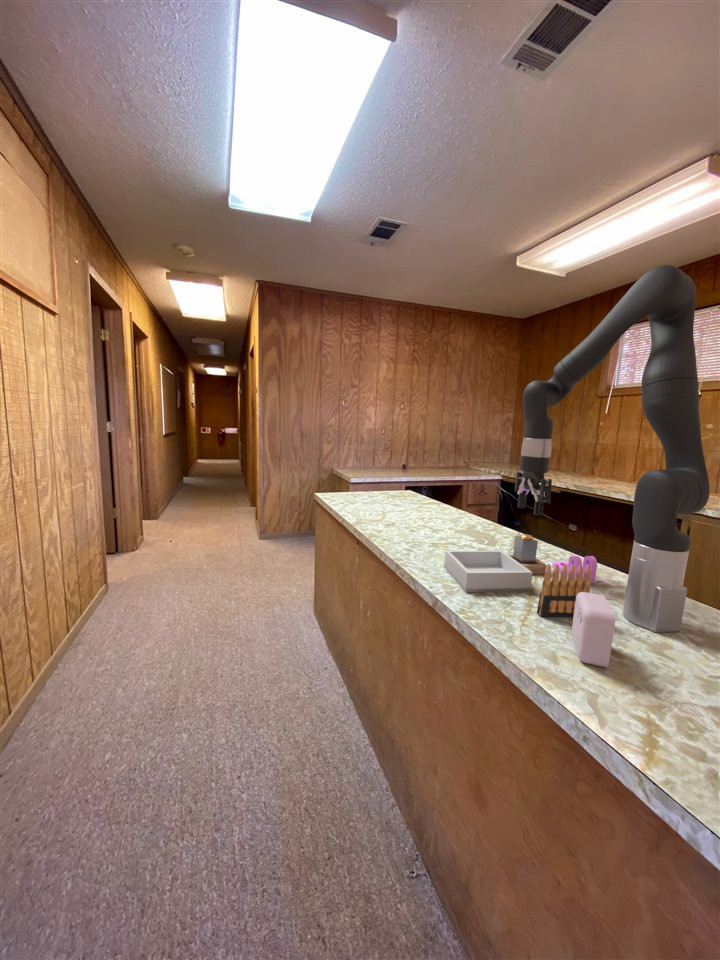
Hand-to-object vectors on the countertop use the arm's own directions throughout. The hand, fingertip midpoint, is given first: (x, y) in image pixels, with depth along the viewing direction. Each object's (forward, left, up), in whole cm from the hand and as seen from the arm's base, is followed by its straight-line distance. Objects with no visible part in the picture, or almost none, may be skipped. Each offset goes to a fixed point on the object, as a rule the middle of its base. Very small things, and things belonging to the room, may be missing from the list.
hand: (529, 511), depth 108 cm
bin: (-7, +15, -17) cm, 24 cm away
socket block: (0, 0, -17) cm, 17 cm away
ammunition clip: (-27, +6, -17) cm, 33 cm away
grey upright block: (0, 0, -17) cm, 17 cm away
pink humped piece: (-4, -12, -18) cm, 22 cm away
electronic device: (-40, +10, -17) cm, 45 cm away
